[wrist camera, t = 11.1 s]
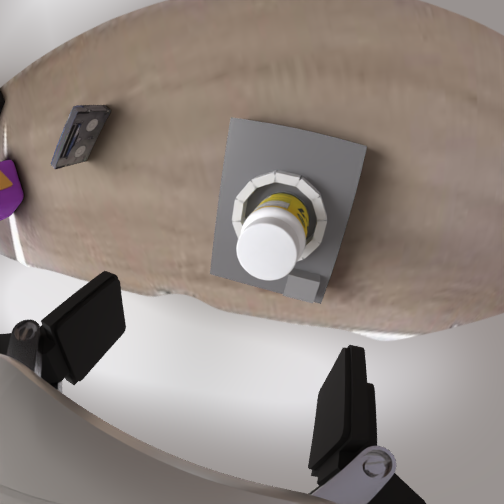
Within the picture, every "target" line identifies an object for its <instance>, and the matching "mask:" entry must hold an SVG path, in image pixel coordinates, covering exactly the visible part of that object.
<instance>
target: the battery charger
mask: <svg viewBox="0 0 504 504" xmlns="http://www.w3.org/2000/svg"><path fill="white" fill-rule="evenodd" d="M4 102H5V101H4V98H3V96H2V94H1V91H0V114H1V111H2V108H3V105H4Z"/></svg>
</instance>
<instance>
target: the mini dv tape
mask: <svg viewBox="0 0 504 504" xmlns="http://www.w3.org/2000/svg"><path fill="white" fill-rule="evenodd" d="M110 112H111V110H110V109H108V108H107V107H106V106H105V105H80V106H74V107H73V108H72V111H71V113H70V115H69V117H68V120H67V122H66V124H65V127H64V129H63V132H62V134H61V137H60V139H59V142H58V145H57V147H56V150H55V153H54V156H53V159H52V162H51V165H52V166H53V167H54V169H58V168H62V167H66V166H70V165H73V164H77V163H81V162H85V161H87V158H88V156H89V154H90V152H91V150H92V148H93V145H94V143H95V141H96V139H97V137H98V135H99V133H100V131H101V129H102V127H103V125H104V123H105V121H106V120H107V118H108V116H109V114H110Z"/></svg>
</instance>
